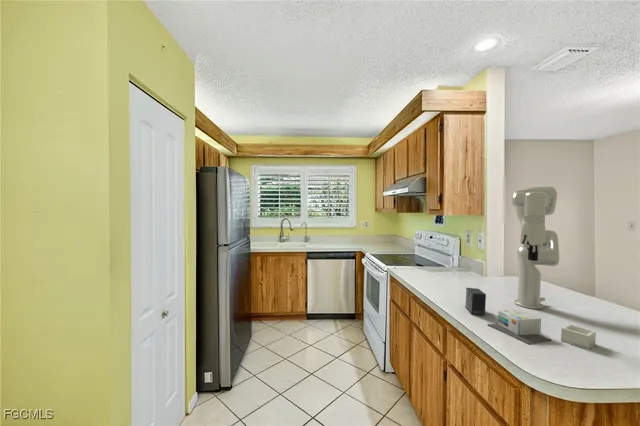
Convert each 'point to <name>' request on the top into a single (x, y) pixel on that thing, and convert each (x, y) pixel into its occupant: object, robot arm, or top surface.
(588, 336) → the grey tub
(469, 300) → the small box
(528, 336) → the mat
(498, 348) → the top surface
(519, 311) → the light bulb box
